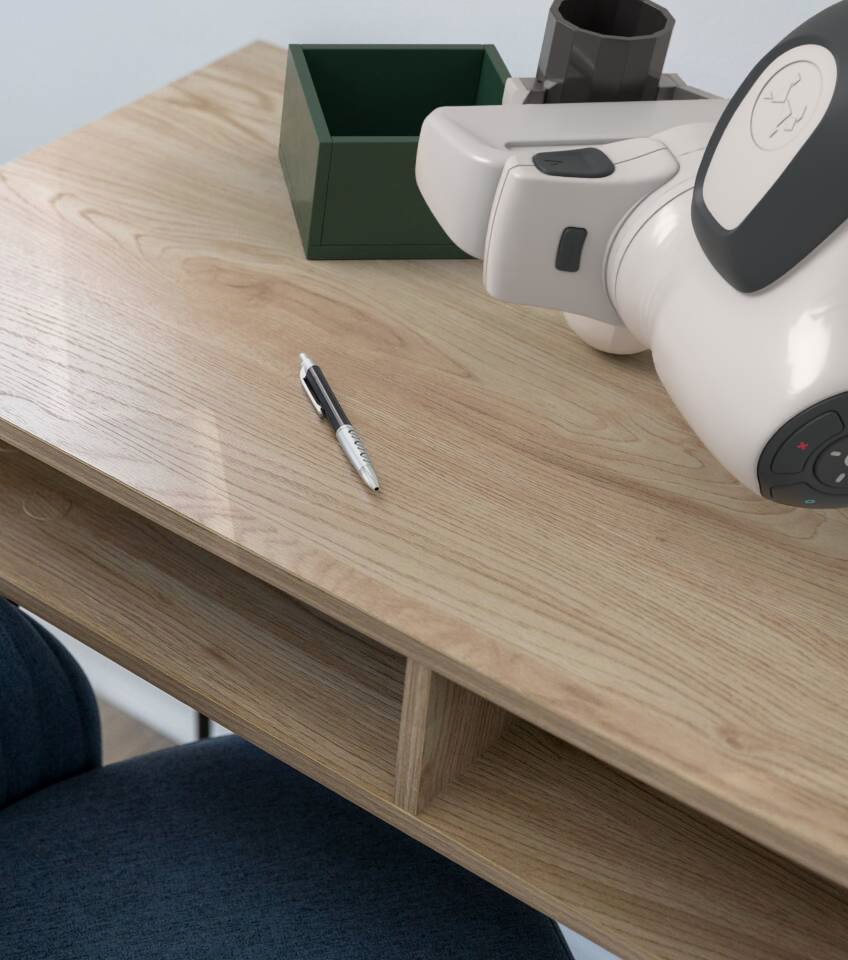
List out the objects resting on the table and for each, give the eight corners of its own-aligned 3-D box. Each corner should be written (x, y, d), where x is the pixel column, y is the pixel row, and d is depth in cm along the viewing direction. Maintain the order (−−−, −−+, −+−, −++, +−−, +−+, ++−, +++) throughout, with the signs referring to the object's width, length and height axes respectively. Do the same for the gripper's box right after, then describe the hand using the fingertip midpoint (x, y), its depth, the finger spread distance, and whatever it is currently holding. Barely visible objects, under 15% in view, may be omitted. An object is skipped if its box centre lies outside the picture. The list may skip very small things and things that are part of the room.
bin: (474, 153, 111) (494, 43, 106) (523, 258, 101) (547, 141, 95) (277, 154, 110) (288, 43, 105) (306, 259, 100) (319, 142, 95)
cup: (610, 162, 86) (652, -11, 80) (644, 219, 81) (692, 40, 75) (503, 162, 85) (537, -11, 79) (531, 220, 81) (569, 40, 75)
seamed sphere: (577, 386, 90) (605, 274, 85) (528, 313, 96) (551, 204, 91) (743, 371, 92) (779, 259, 87) (685, 300, 97) (716, 192, 93)
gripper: (942, 158, 69) (802, 24, 80) (478, 173, 67) (398, 33, 78) (894, 283, 73) (767, 139, 84) (455, 301, 71) (381, 151, 82)
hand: (586, 88), depth 81 cm, fingers closed on cup, 6 cm apart
